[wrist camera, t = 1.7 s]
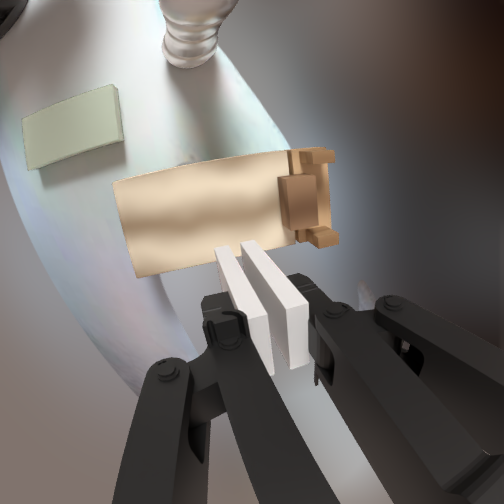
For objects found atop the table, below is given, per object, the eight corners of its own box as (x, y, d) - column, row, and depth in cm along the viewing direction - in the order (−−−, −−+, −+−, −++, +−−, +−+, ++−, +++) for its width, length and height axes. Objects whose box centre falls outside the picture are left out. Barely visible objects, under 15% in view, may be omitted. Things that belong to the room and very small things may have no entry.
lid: (116, 180, 25) (112, 182, 23) (279, 150, 28) (286, 150, 27) (138, 270, 29) (136, 278, 27) (288, 238, 32) (295, 243, 30)
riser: (32, 120, 25) (21, 118, 22) (117, 89, 27) (112, 83, 24) (38, 168, 27) (27, 170, 25) (123, 140, 30) (118, 139, 27)
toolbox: (126, 175, 31) (101, 187, 21) (293, 147, 36) (340, 147, 25) (143, 250, 35) (130, 292, 24) (299, 217, 39) (345, 244, 28)
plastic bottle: (154, 44, 26) (140, -48, 8) (202, 23, 26) (231, -72, 8) (175, 81, 29) (176, 4, 11) (223, 59, 29) (274, -23, 11)
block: (277, 176, 27) (286, 179, 25) (304, 173, 28) (315, 175, 25) (282, 224, 29) (290, 231, 27) (308, 219, 29) (318, 225, 27)
